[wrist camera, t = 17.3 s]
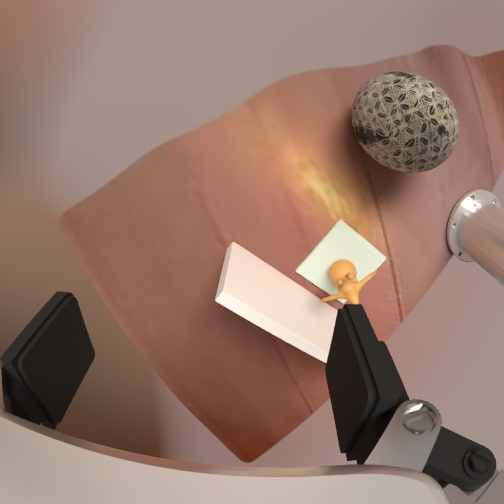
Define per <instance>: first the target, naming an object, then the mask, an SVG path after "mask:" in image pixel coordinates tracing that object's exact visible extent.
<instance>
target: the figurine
mask: <svg viewBox="0 0 504 504" xmlns="http://www.w3.org/2000/svg"><path fill="white" fill-rule="evenodd" d="M376 273H377V269H376V270H375V271H374V272H372V273H370V274H369V275H368V276H366V277H365V278H364V279H362V280H361V281H360V282H358V280H357V279H356V275H357V272H356V268H355V266H354V264H353V263H352V262H350V261H348V260H345V259H341V260H338V261H336V262H334V263H333V264H332V266H331V267H330V270H329V277H330V280H331V281H332V283H333V284H334V285H336V286H338V291H339V293H337V294H334V295H331V296H328V297H326V298H323V299H322V300H319V301H320V302H325V301H331V300H335V299H346V300H348V301H349V302H350V303H352V304H359V292H360V289H361V288H362V287H363V285H364V284H365V283H367V282H368V281H369V280H370V279H371V278H372V277H373V276H374V275H376Z"/></svg>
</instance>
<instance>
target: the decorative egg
mask: <svg viewBox="0 0 504 504" xmlns="http://www.w3.org/2000/svg"><path fill="white" fill-rule="evenodd" d="M352 125H353V129H354V132H355V135H356V137H357V139H358V141H359V143H360V144H361V146H362V147H363V149H364V150H365V151H366V152H367V153H368V154H369V155H370V156H371V157H372V158H373V159H375V160H376V161H377V162H379V163H380V164H382V165H384V166H386V167H388V168H391V169H393V170H397V171H401V172H410V173H416V172H423V171H427V170H430V169H433V168H435V167H437V166H439V165H440V164H442V163H443V162H444V161H445V160H446V159H447V158H448V157H449V156H450V155H451V153H452V152H453V150H454V148H455V146H456V143H457V140H458V135H459V122H458V116H457V113H456V110H455V108H454V106H453V104H452V102H451V100H450V99H449V97H448V96H447V95H446V94H445V92H444V91H443V90H441V89H440V88H439V87H438V86H437V85H436V84H434V83H433V82H431V81H430V80H428V79H426V78H424V77H421V76H419V75H416V74H412V73H408V72H389V73H384V74H381V75H378V76H376V77H374V78H372V79H371V80H369V81H368V82H367V83H366V84H364V85H363V87H362V88H361V89H360V90H359V92H358V93H357V95H356V97H355V100H354V103H353V106H352Z"/></svg>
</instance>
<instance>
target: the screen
mask: <svg viewBox="0 0 504 504" xmlns="http://www.w3.org/2000/svg"><path fill="white" fill-rule="evenodd" d="M319 300H321V299H319V298H318V297H316V296H315V295H313V294H312V293H310V292H309V291H307V290H306V289H304V288H303V287H301V286H300V285H298V284H297V283H295V282H294V281H292V280H291V279H289V278H288V277H286V276H285V275H283V274H282V273H280V272H279V271H277V270H276V269H274V268H273V267H271V266H270V265H268V264H266V263H265V262H263V261H262V260H260V259H259V258H257V257H256V256H254V255H253V254H251V253H250V252H248V251H247V250H245V249H244V248H242V247H241V246H239V245H238V244H236V243H235V242H232V243H231V245H230V246H229V247H228V249H227V251H226V255H225V259H224V264H223V268H222V272H221V277H220V281H219V285H218V290H217V294H216V298H215V301H216V302H218V303H220V304H221V305H223V306H225V307H226V308H228V309H230V310H231V311H233V312H235V313H236V314H238V315H240V316H242V317H243V318H245V319H247V320H248V321H250V322H252V323H254V324H255V325H257V326H259V327H261V328H262V329H264V330H266V331H268V332H269V333H271V334H273V335H275V336H277V337H278V338H280V339H282V340H284V341H286V342H287V343H289V344H291V345H293V346H295V347H297V348H298V349H300V350H302V351H304V352H306V353H308V354H310V355H311V356H313V357H315V358H317V359H319V360H321V361H323V362H325V363H326V362H327V358H328V354H329V349H330V345H331V340H332V336H333V331H334V326H335V321H336V316H337V312H338V310H336V309H335V308H333V307H332V306H330V305H329V304H327V303H326V302H320V301H319Z"/></svg>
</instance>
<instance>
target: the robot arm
mask: <svg viewBox="0 0 504 504" xmlns="http://www.w3.org/2000/svg"><path fill="white" fill-rule="evenodd" d="M447 240H448V245H449V247H450V249H451V251H452V252H453V254H454V255H455V256H456V257H457V258H459V259H460V260H462V261H465V262H472V261H476V262H477V263H478V264H479V265H480V266H481V267H482V268H484V269H485V270H486V271H487V272H488V273H489V274H490V275H491V276H492V277H493V278H495V279H496V280H497V281H498V282H499V283H500V284H501V285H502V286H503V287H504V210H503V209H501V205H500V203H499V201H498V199H497V198H496V197H495V196H494V195H493V194H492V193H491V192H489V191H486V190H483V189H475V190H472V191H470V192H468V193H467V194H465V195H464V196H463V197H462V198H461V199H460V200H459V201H458V202H457V204H456V205H455V207H454V209H453V210H452V213H451V215H450V218H449V222H448V227H447ZM94 357H95V352H94V348H93V346H92V343H91V341H90V338H89V335H88V332H87V329H86V326H85V323H84V320H83V318H82V314H81V311H80V308H79V305H78V301H77V299H76V298H75V297H74V296H73V294H72V293H70V292H60V291H59V292H56V294H54V295H53V297H52V298H51V299H50V300H49V301H48V302H47V303H46V304H45V305H44V307H43V308H42V309H41V310H40V311H39V312H38V313H37V314H36V316H35V317H34V318H33V319H32V320H31V321H30V322H29V324H28V325H27V326H26V327H25V328H24V330H23V331H22V332H21V333H20V334H19V336H18V337H17V338H16V339H15V341H14V342H13V343H12V344H11V345H10V347H9V348H8V349H7V350H6V352H5V353H4V354H3V355H2V357H1V358H0V359H1V361H2V363H3V367H2V368H1V366H0V504H504V470H503V469H501V470H500V471H498V470H497V469H496V459H495V457H494V455H493V453H492V452H491V451H490V450H489V449H488V448H486V447H484V446H482V445H480V444H478V443H476V442H474V441H472V440H469V439H467V438H465V437H463V436H461V435H459V434H457V433H454V432H452V431H450V430H448V429H446V428H444V427H442V426H441V424H442V419H441V414H440V413H439V411H438V409H437V408H436V407H435V406H434V405H433V404H431V403H429V402H427V401H424V400H420V399H412V400H409V397H408V395H407V392H406V390H405V387H404V385H403V383H402V380H401V378H400V376H399V373H398V371H397V369H396V367H395V364H394V362H393V359H392V357H391V355H390V353H389V351H388V349H387V346H386V344H385V343H384V342H383V341H378V339H377V337H376V335H375V333H374V330H373V328H372V326H371V324H370V321H369V319H368V317H367V315H366V313H365V310H364V308H363V306H362V305H361V304H345V305H344V306H343V309H338V312H337V316H336V321H335V326H334V331H333V336H332V340H331V345H330V349H329V354H328V358H327V362H326V369H325V372H326V379H327V384H328V389H329V394H330V399H331V403H332V409H333V414H334V420H335V425H336V430H337V436H338V441H339V447H340V451H341V453H346V457H347V461H352V460H357V465H337V466H315V467H281V468H280V467H237V466H222V465H210V464H199V463H191V462H183V461H176V460H169V459H163V458H157V457H151V456H146V455H140V454H136V453H131V452H127V451H122V450H118V449H113V448H110V447H106V446H102V445H98V444H95V443H91V442H88V441H84V440H81V439H78V438H75V437H71V436H68V435H65V434H62V433H59V432H56V431H54V430H51V429H55V428H56V426H57V423H60V422H61V421H62V419H63V417H64V415H65V413H66V411H67V409H68V407H69V405H70V403H71V401H72V399H73V397H74V395H75V393H76V391H77V389H78V388H79V386H80V384H81V382H82V380H83V378H84V376H85V374H86V373H87V371H88V369H89V367H90V365H91V364H92V362H93V360H94ZM40 423H42V424H43V425H44V426H46V427H49V428H51V429H48V428H45V427H43V426H40Z"/></svg>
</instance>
